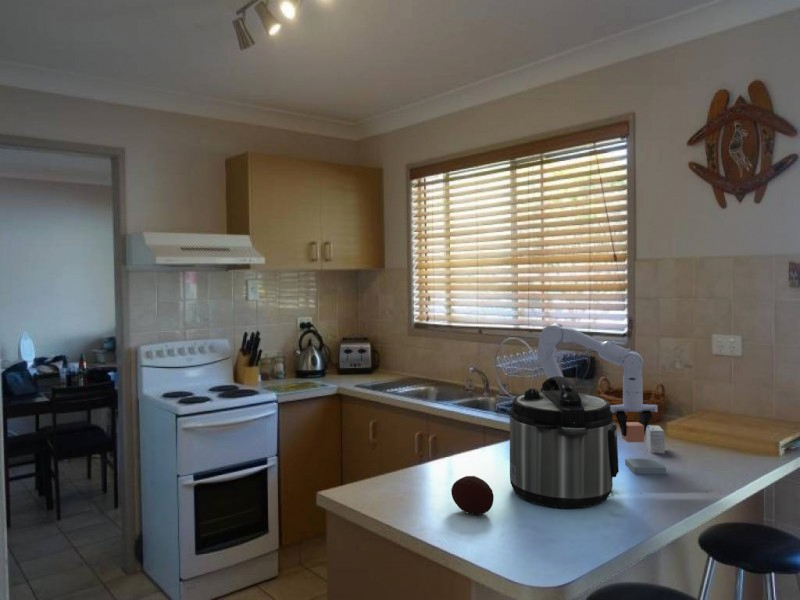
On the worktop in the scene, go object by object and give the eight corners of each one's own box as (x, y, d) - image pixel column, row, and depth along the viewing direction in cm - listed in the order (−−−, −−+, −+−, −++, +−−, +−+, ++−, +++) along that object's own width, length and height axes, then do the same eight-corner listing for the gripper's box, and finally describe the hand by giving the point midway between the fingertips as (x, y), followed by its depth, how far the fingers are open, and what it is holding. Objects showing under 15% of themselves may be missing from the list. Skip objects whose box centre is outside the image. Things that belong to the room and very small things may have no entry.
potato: (481, 524, 151) (480, 486, 150) (443, 512, 159) (442, 475, 159) (502, 514, 157) (502, 477, 157) (464, 502, 165) (464, 467, 165)
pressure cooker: (596, 523, 151) (595, 390, 150) (489, 500, 167) (488, 381, 166) (631, 488, 175) (631, 374, 174) (536, 471, 192) (535, 367, 191)
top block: (634, 474, 183) (634, 467, 183) (625, 465, 192) (625, 458, 192) (666, 474, 182) (666, 467, 182) (655, 465, 191) (655, 458, 191)
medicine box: (664, 457, 204) (664, 431, 203) (650, 457, 205) (650, 430, 204) (659, 451, 211) (659, 425, 211) (645, 450, 212) (645, 425, 212)
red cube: (627, 442, 193) (627, 425, 193) (622, 438, 198) (621, 422, 198) (644, 442, 193) (644, 425, 193) (638, 437, 198) (638, 422, 198)
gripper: (613, 394, 191) (613, 438, 191) (661, 393, 191) (661, 438, 191) (606, 390, 198) (606, 433, 198) (652, 389, 198) (652, 432, 198)
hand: (633, 435), depth 195 cm, fingers closed on red cube, 5 cm apart
